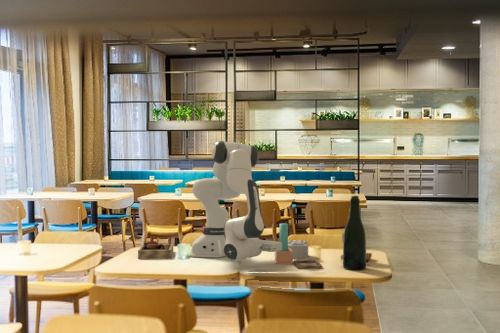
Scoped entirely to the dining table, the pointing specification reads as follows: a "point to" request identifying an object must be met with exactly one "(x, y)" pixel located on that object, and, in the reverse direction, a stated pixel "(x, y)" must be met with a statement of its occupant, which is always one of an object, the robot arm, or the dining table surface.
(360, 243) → the dark green wine bottle
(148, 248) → the pottery mug
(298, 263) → the walnut tray
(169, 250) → the shallow wooden crate
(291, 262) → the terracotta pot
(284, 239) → the teal dowel
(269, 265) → the dining table surface
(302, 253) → the gray bumpy block
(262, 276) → the dining table surface
